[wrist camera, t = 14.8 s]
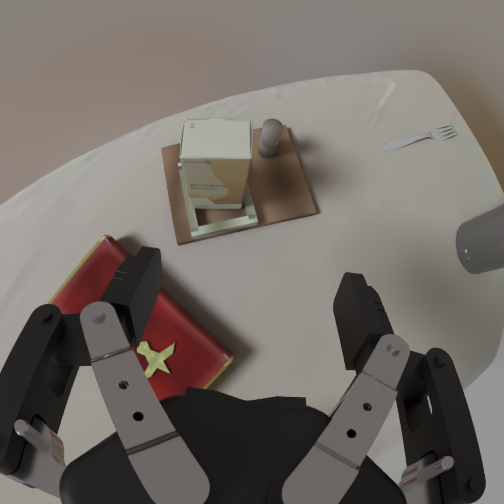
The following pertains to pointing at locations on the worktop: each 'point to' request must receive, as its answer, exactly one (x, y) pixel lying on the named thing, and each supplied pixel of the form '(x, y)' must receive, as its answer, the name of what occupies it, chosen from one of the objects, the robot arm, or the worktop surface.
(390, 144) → the fork
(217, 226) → the pin board
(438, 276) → the worktop surface
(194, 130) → the skincare box
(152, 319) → the hardcover book
